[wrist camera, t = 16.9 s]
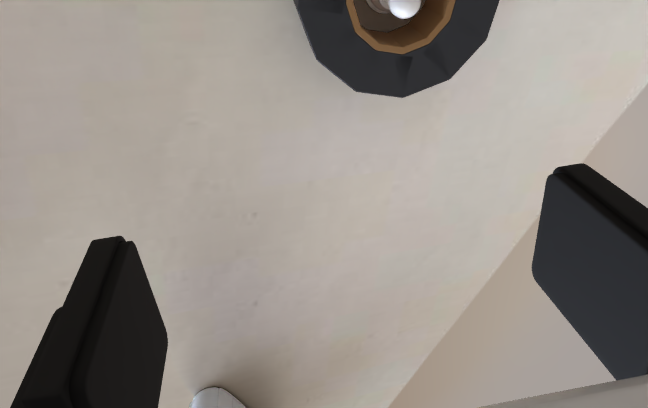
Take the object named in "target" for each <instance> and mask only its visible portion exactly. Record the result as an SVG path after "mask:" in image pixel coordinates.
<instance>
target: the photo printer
mask: <svg viewBox="0 0 648 408" xmlns="http://www.w3.org/2000/svg"><path fill="white" fill-rule="evenodd" d="M189 408H246V407H245V406H244V405H243V404H242V403H241V402H240V401H239V400H237V399H236V398H235V397H234V396H233V395H231V394H230V393H229V392H227V391H226V390H224V389H222V388H219V389H218V388H217V387H211V388H207V389H204V390H202V391H200V392H199V393H197V394H196V395H195V397H194V399H193V401H192V402H191V403H190V405H189Z"/></svg>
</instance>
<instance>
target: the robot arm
mask: <svg viewBox="0 0 648 408" xmlns="http://www.w3.org/2000/svg"><path fill="white" fill-rule="evenodd" d="M532 273H533V277H534V279H535V280H536V282H537V283H538V285H539V286H540V287H541V288H542V290H543V291H544V292H545V293H546V294H547V296H548V297H549V298H550V299H551V300H552V302H553V303H554V304H555V305H556V307H557V308H558V309H559V310H560V312H561V313H562V314H563V315H564V317H565V318H566V319H567V320H568V321H569V323H570V324H571V325H572V326H573V328H574V329H575V330H576V331H577V332H578V334H579V335H580V336H581V337H582V339H583V340H584V341H585V342H586V344H587V345H588V346H589V347H590V348H591V350H592V351H593V352H594V353H595V354H596V356H597V357H598V358H599V359H600V361H601V362H602V363H603V364H604V366H605V367H606V368H607V369H608V371H609V372H610V373H611V374H612V375H613V377H614V378H615V379H616V380H617V381H612V382H607V383H602V384H597V385H591V386H586V387H581V388H575V389H571V390H566V391H560V392H555V393H550V394H544V395H539V396H534V397H529V398H524V399H519V400H513V401H508V402H503V403H498V404H493V405H488V406H483V407H478V408H648V208H646V207H645V206H644V205H642V204H641V203H639V202H638V201H636V200H635V199H634V198H632V197H631V196H630V195H628V194H627V193H625V192H624V191H623V190H621V189H620V188H618V187H617V186H616V185H614V184H613V183H611V182H610V181H609V180H607V179H606V178H604V177H603V176H602V175H600V174H599V173H598V172H596V171H595V170H593V169H592V168H591V167H589V166H588V165H586V164H575V165H568V166H562V167H558V168H556V169H555V170H554V172H553V174H551V175H549V176H548V178H547V181H546V186H545V192H544V198H543V203H542V209H541V215H540V221H539V227H538V233H537V239H536V245H535V251H534V256H533V262H532ZM167 347H168V338H167V332H166V329H165V326H164V323H163V320H162V318H161V315H160V312H159V309H158V306H157V304H156V301H155V298H154V295H153V293H152V290H151V287H150V284H149V281H148V279H147V276H146V273H145V270H144V268H143V265H142V262H141V259H140V257H139V254H138V251H137V248H136V246H135V244H134V242H133V241H127V242H126V241H125V239H124V238H123V237H122V236H116V237H110V238H103V239H97V240H93V241H92V242H91V244H90V246H89V248H88V251H87V253H86V255H85V257H84V259H83V262H82V264H81V266H80V268H79V271H78V273H77V275H76V277H75V280H74V282H73V284H72V286H71V289H70V291H69V293H68V295H67V298H66V300H65V302H64V304H63V307H60V308H59V309H57V310H56V311H55V313H54V314H53V316H52V318H51V320H50V322H49V325H48V327H47V329H46V331H45V333H44V335H43V338H42V340H41V342H40V344H39V346H38V348H37V351H36V353H35V355H34V357H33V359H32V361H31V364H30V366H29V368H28V370H27V372H26V375H25V377H24V379H23V381H22V383H21V385H20V388H19V390H18V392H17V394H16V396H15V398H14V401H13V403H12V405H11V407H10V408H158V403H159V397H160V391H161V384H162V378H163V372H164V366H165V360H166V353H167Z"/></svg>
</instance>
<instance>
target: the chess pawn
mask: <svg viewBox="0 0 648 408" xmlns="http://www.w3.org/2000/svg"><path fill="white" fill-rule="evenodd" d="M366 2H367V3H368V5H369V6H370V7H371V8H372V9H373V10H374V11H376V12H378V13H382V14H389V13H393V14H394V15H395V16H396V17H398V18H402V19H407V18H410V17H412V16H414V15H415V14H416V13H417V12H418V10H419V8H420V6H421V0H366Z"/></svg>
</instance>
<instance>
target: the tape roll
mask: <svg viewBox="0 0 648 408" xmlns="http://www.w3.org/2000/svg"><path fill="white" fill-rule="evenodd" d="M293 1H294V3H295V6H296V9H297V11H298V14H299V17H300V19H301V22H302V25H303V27H304V30H305V33H306V35H307V38H308V41H309V43H310V46H311V48H312V50H313V53H314V55H315V57H316V59H317V60H318V62H319V63H321V64H322V65H323V66H324V67H326V68H327V69H328V70H329V71H331V72H332V73H333V74H334V75H336V76H337V77H338V78H339V79H341V80H342V81H343V82H344V83H345V84H347V85H348V86H349V87H350V88H352V89H353V90H354V91H356V92H362V93H370V94H377V95H385V96H393V97H400V98H403V97H406V96H409V95H411V94H414V93H416V92H419V91H421V90H424V89H427V88H429V87H432V86H434V85H437V84H439V83H442V82H444V81H447V80H449V79H451V77H452V76H453V75H454V74H455V73H456V72H457V71H458V70H459V69H460V68H461V67H462V66H463V64H464V63H465V62H466V61H467V60H468V59H469V58H470V57H471V56H472V55H473V54H474V52H475V51H476V50H477V49H478V48H479V47H480V46H481V45H482V44H483V43H484V42H485V41H486V39H487V36H488V33H489V30H490V27H491V24H492V21H493V18H494V15H495V12H496V9H497V6H498V3H499V0H425V2H424V6H423V7H422V8H421V9H420V11H419V12H418V13H417V14H416V15H415V17H414V18H413V19H412V20H411V21H410V23H409V24H407V25H405V26H403V27H400V28H398V29H395V30H393V31H390V32H388V33H386V32H379V31H373V30H367V29H365V28H364V27H363V26H362V25H360V22H359V19H358V16H357V12H356V9H355V6H354V3H353V1H354V0H293Z"/></svg>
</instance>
